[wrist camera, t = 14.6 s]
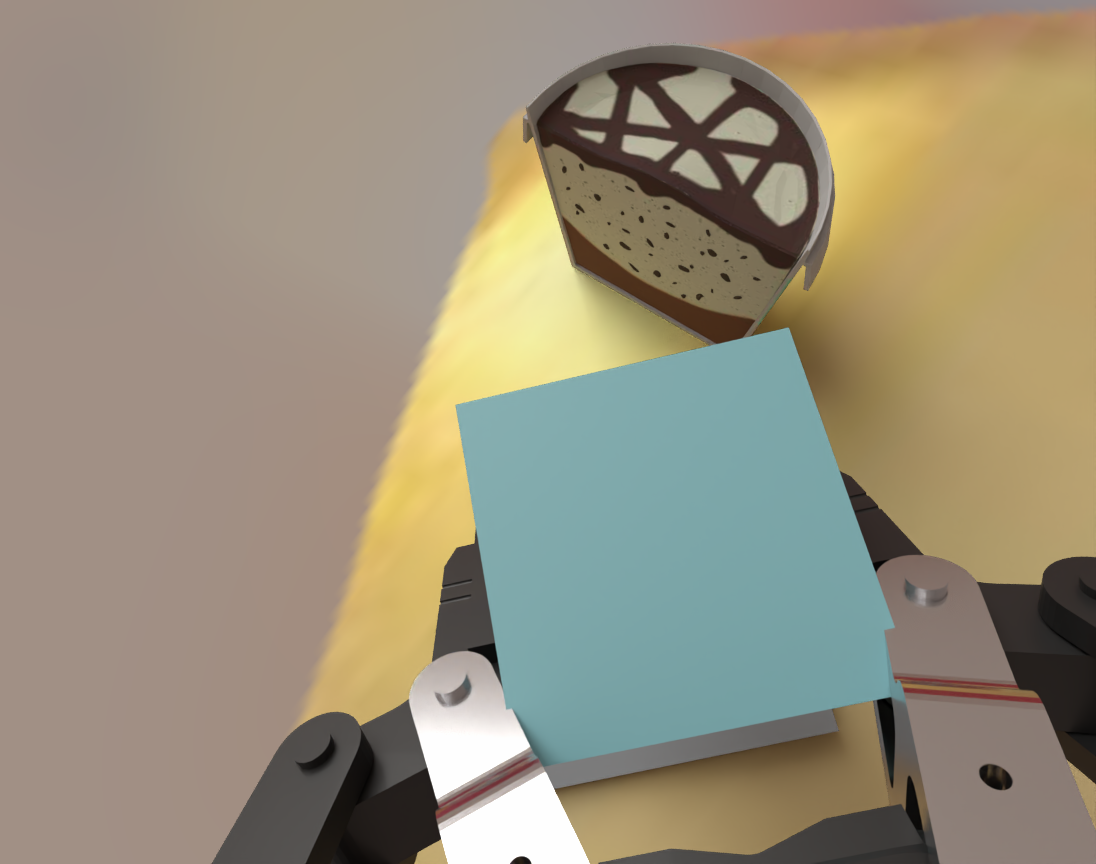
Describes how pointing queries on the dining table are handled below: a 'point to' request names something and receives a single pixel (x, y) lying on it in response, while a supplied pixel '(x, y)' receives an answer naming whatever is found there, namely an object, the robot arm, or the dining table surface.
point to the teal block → (670, 551)
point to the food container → (686, 182)
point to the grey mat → (691, 749)
